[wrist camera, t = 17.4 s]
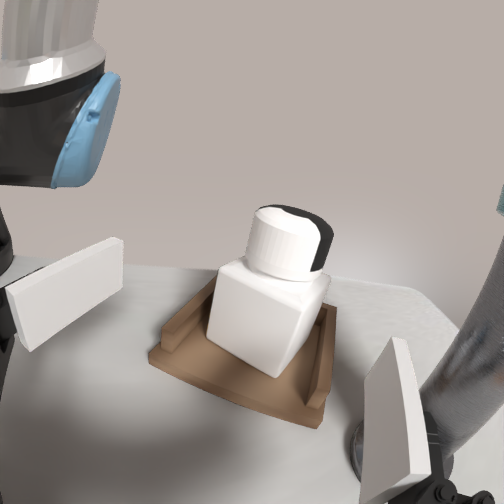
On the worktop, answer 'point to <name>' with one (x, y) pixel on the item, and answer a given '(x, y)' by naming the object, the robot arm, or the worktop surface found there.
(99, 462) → the worktop surface
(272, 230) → the medicine bottle
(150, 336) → the worktop surface
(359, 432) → the bobbin post
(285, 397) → the notched board
